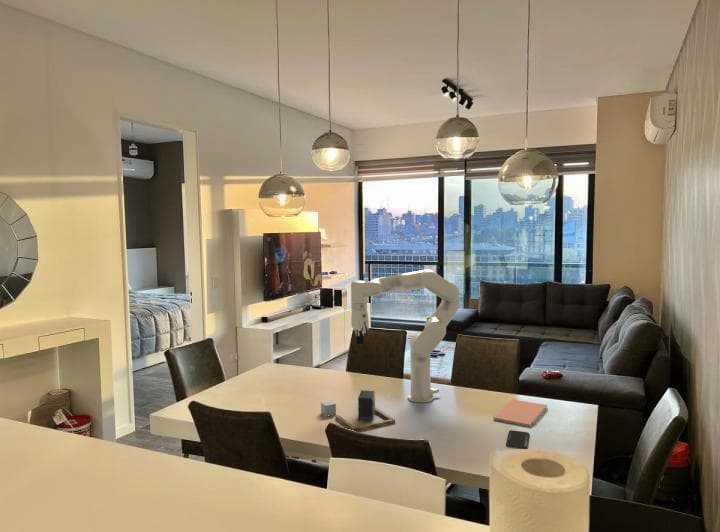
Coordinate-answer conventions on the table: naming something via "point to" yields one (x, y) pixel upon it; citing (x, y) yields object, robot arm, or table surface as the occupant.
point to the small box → (366, 405)
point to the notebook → (521, 413)
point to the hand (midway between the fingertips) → (359, 343)
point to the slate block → (328, 408)
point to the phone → (517, 439)
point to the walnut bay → (368, 426)
